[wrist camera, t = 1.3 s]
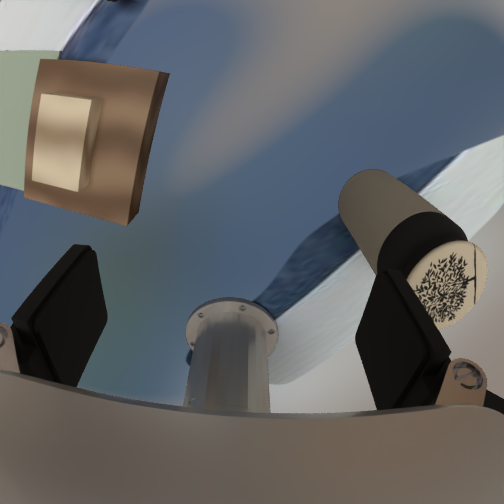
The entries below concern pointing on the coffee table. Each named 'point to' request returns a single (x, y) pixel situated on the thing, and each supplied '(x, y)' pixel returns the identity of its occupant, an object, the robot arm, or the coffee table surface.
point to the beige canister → (414, 243)
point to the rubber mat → (17, 110)
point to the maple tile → (65, 140)
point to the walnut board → (103, 135)
